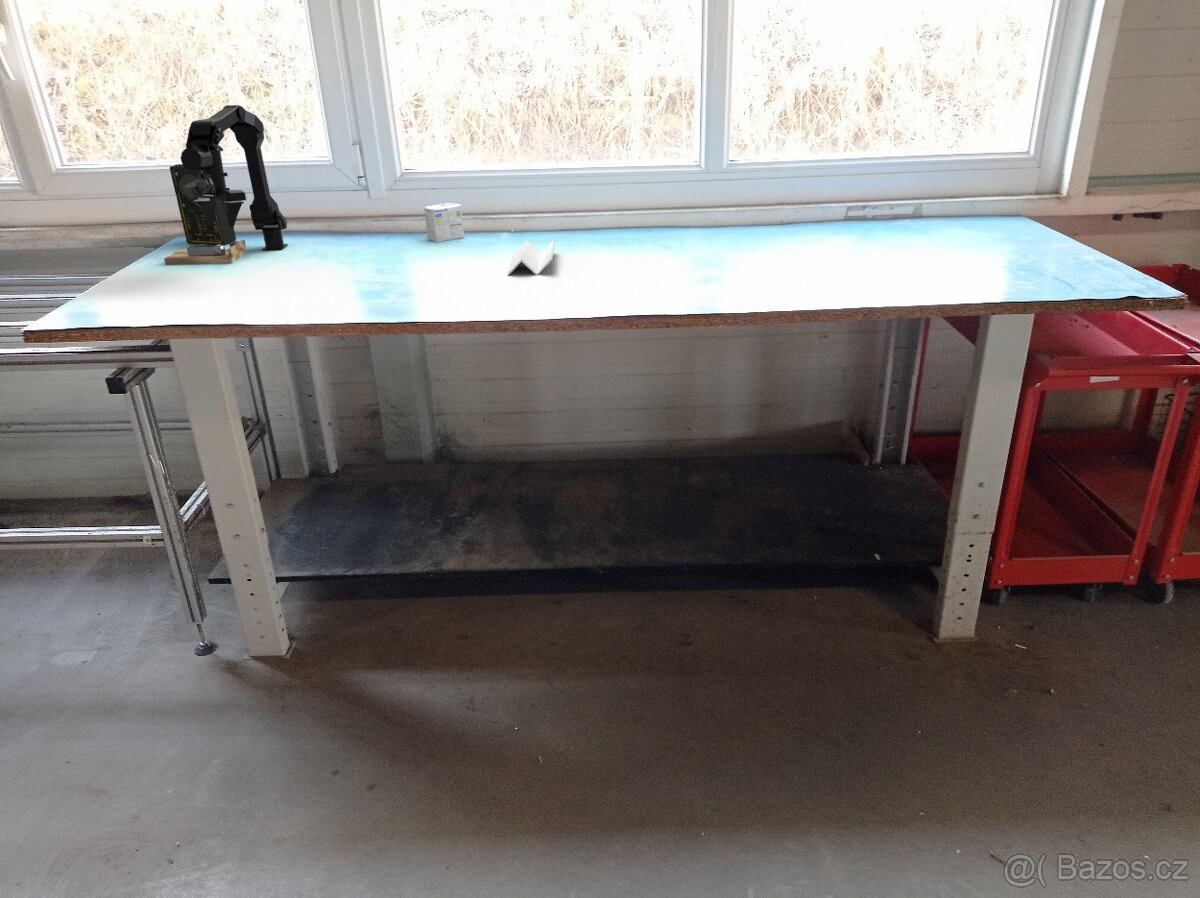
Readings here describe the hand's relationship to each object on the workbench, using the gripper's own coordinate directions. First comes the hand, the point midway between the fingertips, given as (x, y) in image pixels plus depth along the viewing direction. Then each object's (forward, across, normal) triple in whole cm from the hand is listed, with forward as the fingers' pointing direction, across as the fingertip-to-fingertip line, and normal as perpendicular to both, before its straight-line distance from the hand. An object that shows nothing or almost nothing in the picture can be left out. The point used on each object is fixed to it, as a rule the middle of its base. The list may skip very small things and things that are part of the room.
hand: (221, 226), depth 241 cm
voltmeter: (+9, -40, +23) cm, 48 cm away
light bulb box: (+9, +26, +65) cm, 70 cm away
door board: (+12, -22, +8) cm, 26 cm away
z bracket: (+13, +71, +51) cm, 89 cm away
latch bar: (+10, -18, +6) cm, 21 cm away
